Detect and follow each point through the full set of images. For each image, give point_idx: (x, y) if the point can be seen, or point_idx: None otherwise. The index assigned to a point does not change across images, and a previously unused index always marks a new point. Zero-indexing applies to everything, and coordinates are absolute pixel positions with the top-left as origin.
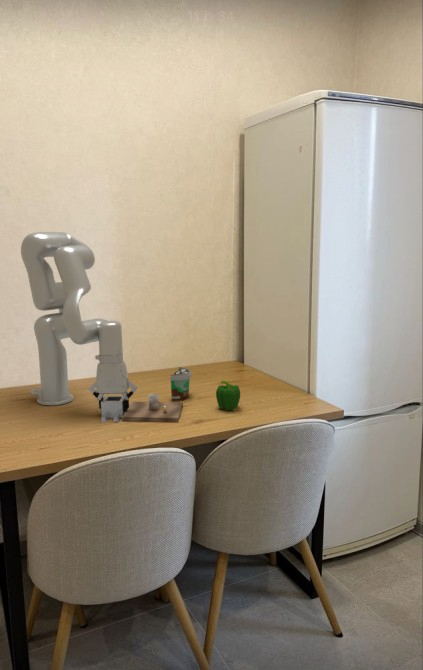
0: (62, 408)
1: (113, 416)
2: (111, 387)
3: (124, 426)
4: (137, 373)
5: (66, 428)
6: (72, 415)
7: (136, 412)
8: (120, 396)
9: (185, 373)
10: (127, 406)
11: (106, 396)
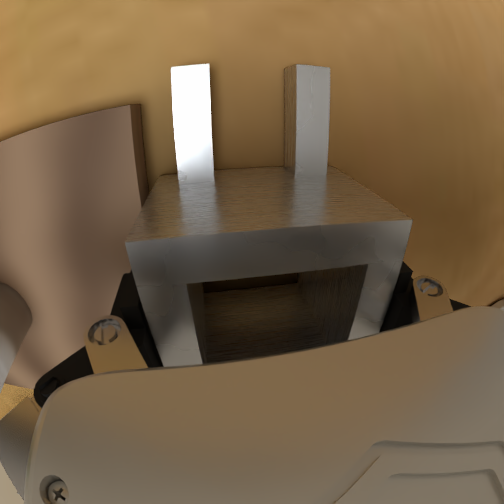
0: (481, 287)
1: (239, 171)
2: (371, 457)
3: (102, 12)
4: None
5: (467, 18)
6: (471, 210)
7: (61, 238)
8: None
9: (17, 492)
10: (126, 279)
11: None
